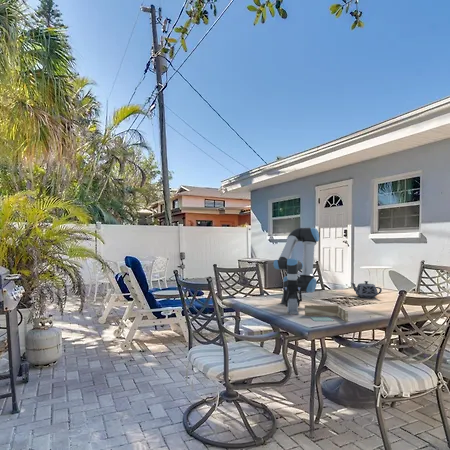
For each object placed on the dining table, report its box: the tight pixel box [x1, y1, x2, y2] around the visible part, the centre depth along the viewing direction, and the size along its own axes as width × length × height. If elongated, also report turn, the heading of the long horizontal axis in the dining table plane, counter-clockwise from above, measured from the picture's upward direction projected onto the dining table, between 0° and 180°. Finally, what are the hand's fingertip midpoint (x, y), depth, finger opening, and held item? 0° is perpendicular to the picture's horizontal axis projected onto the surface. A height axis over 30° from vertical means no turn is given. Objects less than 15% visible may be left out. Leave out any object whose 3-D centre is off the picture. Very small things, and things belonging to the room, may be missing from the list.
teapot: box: [350, 280, 383, 299], centre depth 308 cm, size 19×31×15 cm, turn 38°
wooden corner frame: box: [304, 304, 349, 323], centre depth 224 cm, size 18×24×7 cm
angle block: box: [288, 298, 300, 316], centre depth 239 cm, size 9×6×10 cm, turn 0°
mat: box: [309, 316, 334, 322], centre depth 221 cm, size 10×13×1 cm
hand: (292, 311), depth 241 cm, fingers closed on angle block, 6 cm apart
